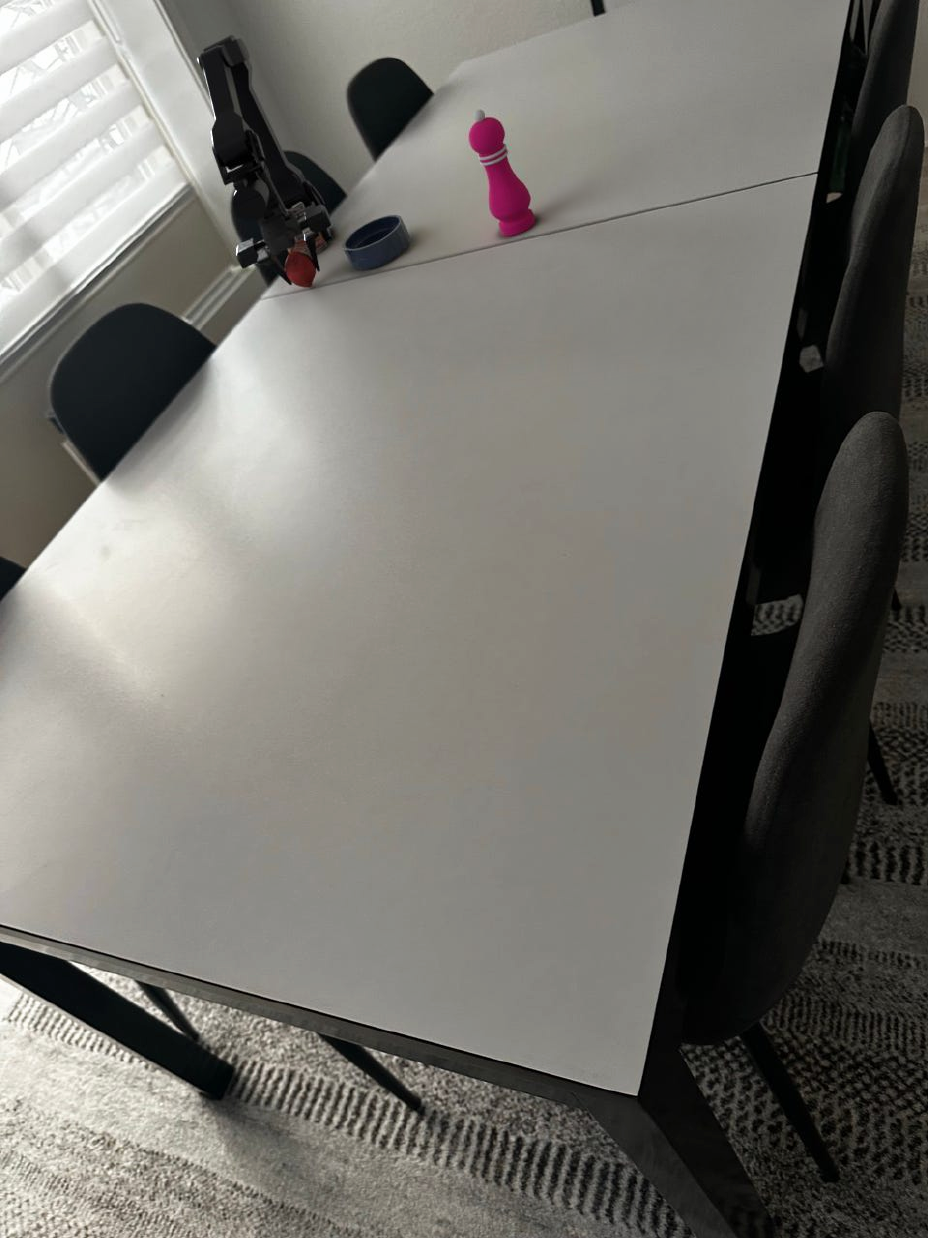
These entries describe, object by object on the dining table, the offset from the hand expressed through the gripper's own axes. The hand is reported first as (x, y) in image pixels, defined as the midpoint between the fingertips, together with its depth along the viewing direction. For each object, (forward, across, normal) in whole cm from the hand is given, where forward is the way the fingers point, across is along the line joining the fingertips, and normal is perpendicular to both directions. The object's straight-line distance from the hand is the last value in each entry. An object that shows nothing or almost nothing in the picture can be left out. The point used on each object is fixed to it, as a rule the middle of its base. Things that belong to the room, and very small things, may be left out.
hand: (304, 277), depth 179 cm
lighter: (+2, +1, +17) cm, 17 cm away
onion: (+2, 0, 0) cm, 2 cm away
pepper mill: (+2, +40, -18) cm, 44 cm away
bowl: (+2, +16, -1) cm, 16 cm away
